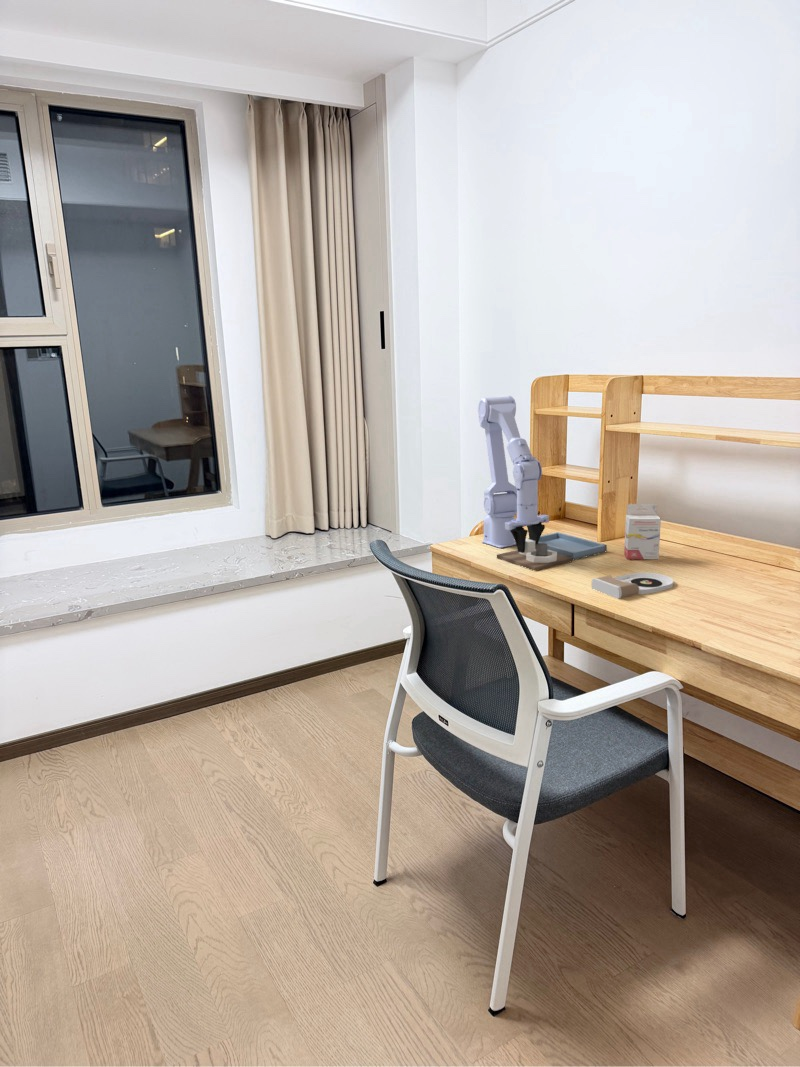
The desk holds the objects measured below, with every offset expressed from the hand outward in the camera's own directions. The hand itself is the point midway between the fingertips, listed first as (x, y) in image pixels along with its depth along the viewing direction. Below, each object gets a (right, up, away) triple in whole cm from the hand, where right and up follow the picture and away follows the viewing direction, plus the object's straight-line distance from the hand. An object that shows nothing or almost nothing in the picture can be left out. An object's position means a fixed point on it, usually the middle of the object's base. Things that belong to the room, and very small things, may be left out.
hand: (527, 550), depth 212 cm
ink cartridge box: (+31, -2, -4) cm, 31 cm away
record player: (+22, -9, -27) cm, 36 cm away
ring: (+2, -2, -3) cm, 4 cm away
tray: (+12, 0, +8) cm, 15 cm away
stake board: (+2, -3, -2) cm, 4 cm away
